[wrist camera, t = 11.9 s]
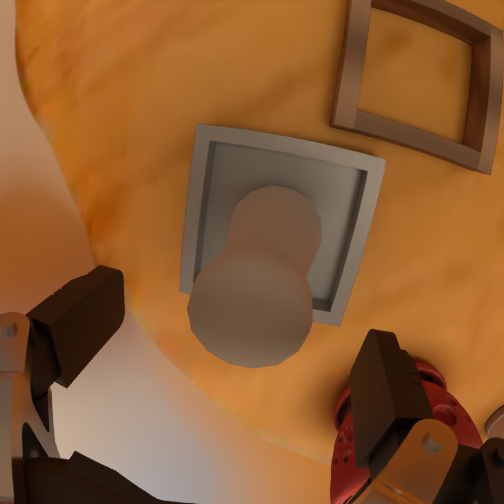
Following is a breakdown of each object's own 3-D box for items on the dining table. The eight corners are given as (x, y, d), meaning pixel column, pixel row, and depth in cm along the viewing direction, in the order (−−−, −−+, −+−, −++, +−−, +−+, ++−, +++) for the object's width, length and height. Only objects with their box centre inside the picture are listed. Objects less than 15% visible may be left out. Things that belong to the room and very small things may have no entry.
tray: (208, 125, 21) (196, 123, 18) (377, 157, 20) (386, 159, 17) (190, 277, 25) (179, 291, 23) (336, 309, 24) (339, 326, 22)
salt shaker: (253, 168, 21) (181, 208, 9) (333, 199, 20) (372, 283, 8) (226, 244, 23) (147, 357, 11) (300, 273, 23) (291, 411, 11)
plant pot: (331, 442, 30) (330, 532, 19) (325, 359, 26) (327, 475, 15) (439, 422, 27) (462, 505, 16) (460, 334, 23) (513, 429, 12)
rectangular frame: (349, -11, 15) (355, -30, 13) (484, 39, 14) (502, 31, 12) (329, 126, 20) (333, 124, 17) (470, 170, 19) (490, 175, 16)
